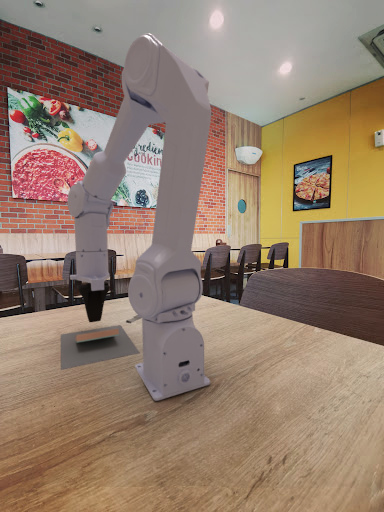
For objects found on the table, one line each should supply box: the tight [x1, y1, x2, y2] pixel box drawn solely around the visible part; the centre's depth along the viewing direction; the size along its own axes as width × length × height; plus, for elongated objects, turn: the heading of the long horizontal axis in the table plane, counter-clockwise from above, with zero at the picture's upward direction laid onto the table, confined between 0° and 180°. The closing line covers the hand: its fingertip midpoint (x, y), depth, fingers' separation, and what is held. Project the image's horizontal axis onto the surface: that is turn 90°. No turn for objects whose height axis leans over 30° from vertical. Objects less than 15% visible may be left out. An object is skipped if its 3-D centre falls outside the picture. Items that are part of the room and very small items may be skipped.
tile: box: [75, 329, 119, 343], centre depth 48 cm, size 1×7×6 cm
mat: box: [60, 324, 141, 371], centre depth 48 cm, size 16×12×1 cm
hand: (94, 320), depth 50 cm, fingers closed
